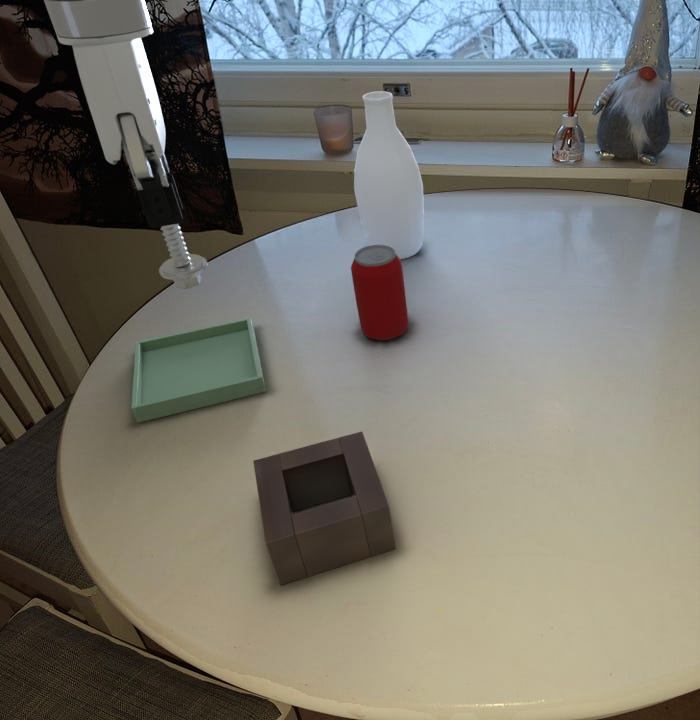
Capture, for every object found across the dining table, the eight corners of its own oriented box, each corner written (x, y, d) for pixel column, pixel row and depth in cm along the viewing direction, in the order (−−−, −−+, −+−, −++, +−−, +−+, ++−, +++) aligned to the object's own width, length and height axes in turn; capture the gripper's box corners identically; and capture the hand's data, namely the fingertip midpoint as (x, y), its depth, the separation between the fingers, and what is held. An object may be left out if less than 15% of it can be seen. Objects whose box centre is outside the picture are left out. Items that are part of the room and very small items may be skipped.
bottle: (378, 231, 122) (358, 83, 107) (437, 237, 119) (425, 86, 104) (352, 260, 113) (327, 104, 98) (415, 267, 111) (398, 107, 96)
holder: (280, 586, 62) (265, 543, 59) (266, 501, 70) (253, 460, 67) (396, 548, 65) (389, 506, 61) (369, 472, 73) (362, 431, 70)
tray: (137, 423, 81) (131, 408, 80) (141, 355, 93) (135, 341, 92) (266, 391, 85) (262, 377, 84) (254, 330, 97) (250, 316, 96)
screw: (219, 283, 73) (174, 299, 70) (201, 267, 76) (158, 283, 73) (183, 164, 65) (132, 178, 62) (165, 152, 68) (115, 165, 65)
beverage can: (392, 312, 100) (382, 237, 93) (418, 331, 95) (410, 254, 88) (352, 329, 96) (339, 253, 89) (378, 349, 92) (366, 271, 85)
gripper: (65, 8, 63) (131, 197, 74) (37, 39, 51) (121, 260, 61) (151, 1, 65) (203, 186, 76) (144, 29, 53) (208, 245, 63)
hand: (166, 217), depth 68 cm, fingers closed on screw, 2 cm apart
